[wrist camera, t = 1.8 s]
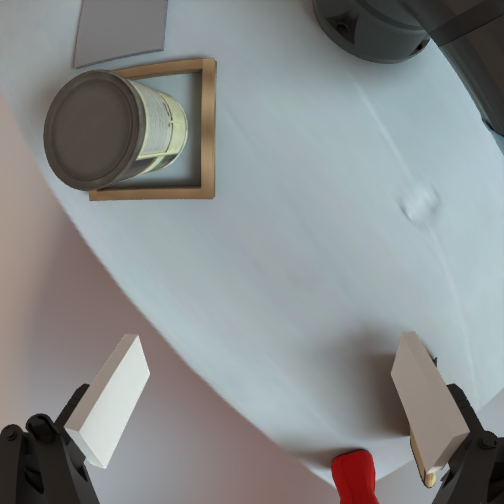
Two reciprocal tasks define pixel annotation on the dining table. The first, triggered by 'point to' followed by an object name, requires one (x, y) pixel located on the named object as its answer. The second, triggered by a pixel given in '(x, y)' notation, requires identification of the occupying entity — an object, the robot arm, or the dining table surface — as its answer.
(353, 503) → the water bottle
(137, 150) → the coffee can
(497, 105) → the robot arm
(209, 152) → the frame
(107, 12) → the mat
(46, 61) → the dining table surface
